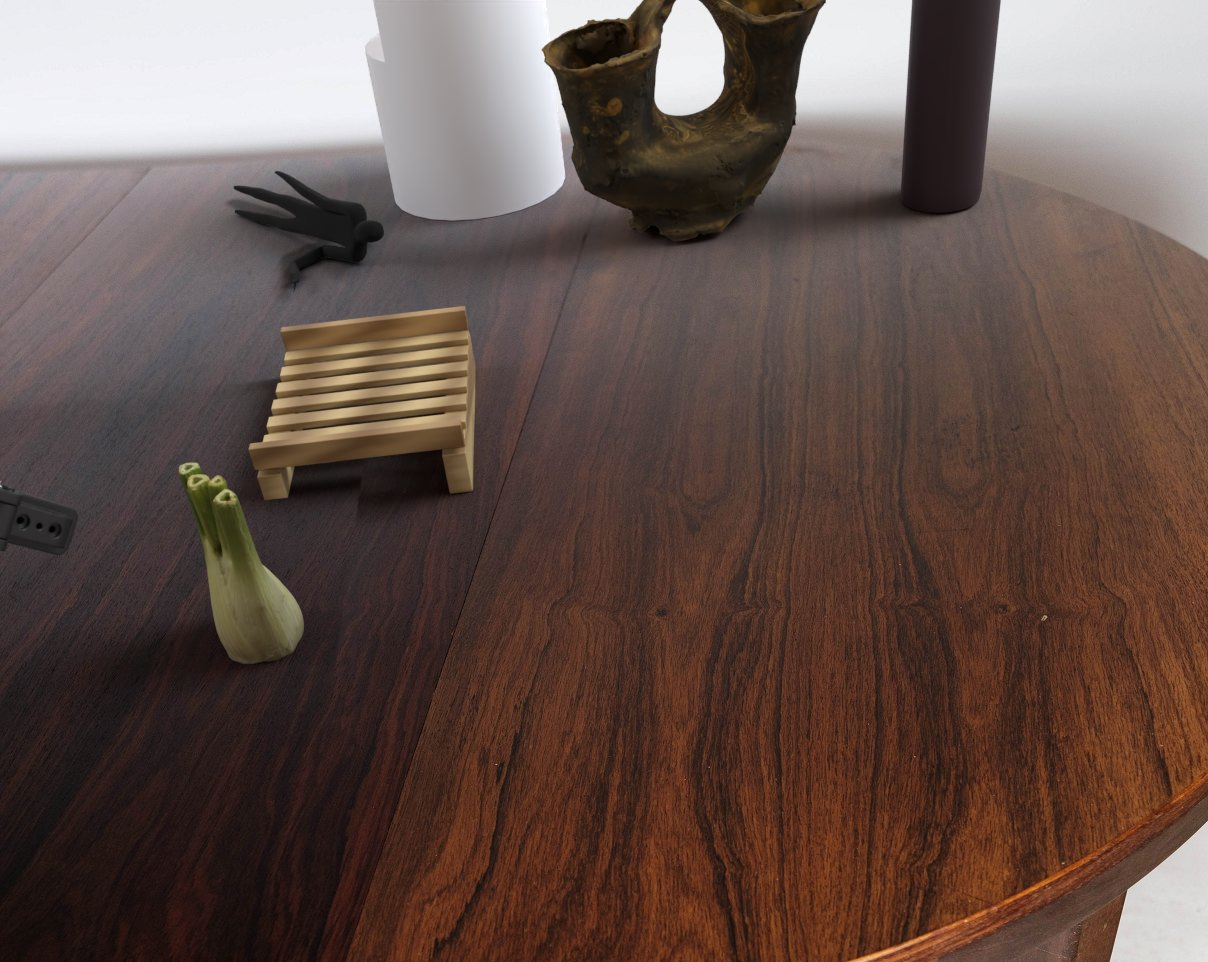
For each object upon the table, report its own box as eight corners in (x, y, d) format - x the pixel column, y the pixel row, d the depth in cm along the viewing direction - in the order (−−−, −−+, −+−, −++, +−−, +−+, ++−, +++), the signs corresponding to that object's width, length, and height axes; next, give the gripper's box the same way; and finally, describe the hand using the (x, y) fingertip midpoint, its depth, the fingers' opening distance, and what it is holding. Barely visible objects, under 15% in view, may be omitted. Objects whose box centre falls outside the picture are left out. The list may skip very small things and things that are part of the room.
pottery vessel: (788, 171, 125) (788, -63, 112) (845, 207, 117) (853, -40, 104) (547, 232, 120) (518, -7, 106) (590, 273, 112) (565, 21, 99)
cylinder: (600, 173, 129) (569, -161, 111) (473, 234, 121) (416, -117, 102) (485, 144, 139) (438, -168, 120) (359, 198, 130) (288, -128, 112)
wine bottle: (981, 184, 118) (1021, -216, 98) (979, 215, 113) (1021, -200, 93) (902, 184, 120) (926, -209, 100) (897, 215, 115) (921, -193, 95)
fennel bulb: (227, 630, 79) (164, 458, 71) (308, 613, 79) (254, 441, 71) (229, 690, 74) (161, 514, 66) (313, 671, 75) (257, 495, 67)
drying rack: (268, 515, 88) (248, 449, 85) (298, 388, 101) (281, 327, 98) (473, 491, 88) (460, 424, 84) (475, 367, 101) (465, 305, 98)
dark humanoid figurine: (161, 159, 123) (302, 197, 108) (244, 160, 129) (389, 196, 113) (167, 249, 127) (304, 297, 112) (248, 246, 133) (388, 291, 117)
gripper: (-499, 448, 50) (-97, 543, 64) (-325, 549, 43) (82, 630, 57) (-444, 259, 49) (-51, 397, 63) (-258, 331, 42) (135, 467, 56)
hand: (12, 507), depth 60 cm, fingers open, 8 cm apart
